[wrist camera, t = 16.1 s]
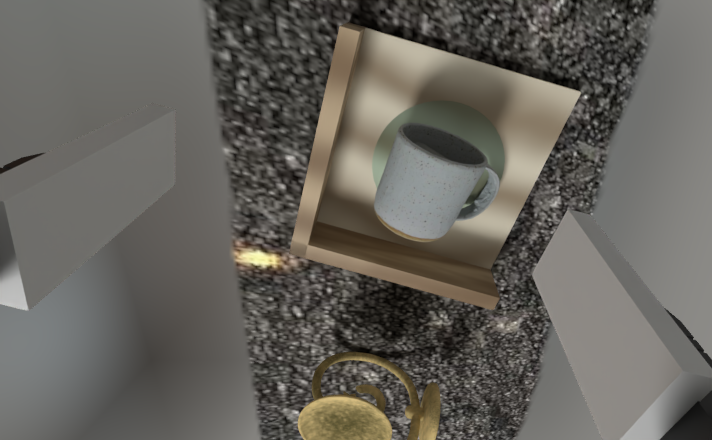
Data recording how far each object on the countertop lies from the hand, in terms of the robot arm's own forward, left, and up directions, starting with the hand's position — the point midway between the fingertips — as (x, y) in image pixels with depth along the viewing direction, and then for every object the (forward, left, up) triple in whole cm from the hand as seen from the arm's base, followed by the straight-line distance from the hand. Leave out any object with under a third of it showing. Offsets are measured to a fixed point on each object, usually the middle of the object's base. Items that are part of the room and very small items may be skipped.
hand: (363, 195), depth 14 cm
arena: (+7, +6, -25) cm, 27 cm away
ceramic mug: (+7, +7, -25) cm, 26 cm away
